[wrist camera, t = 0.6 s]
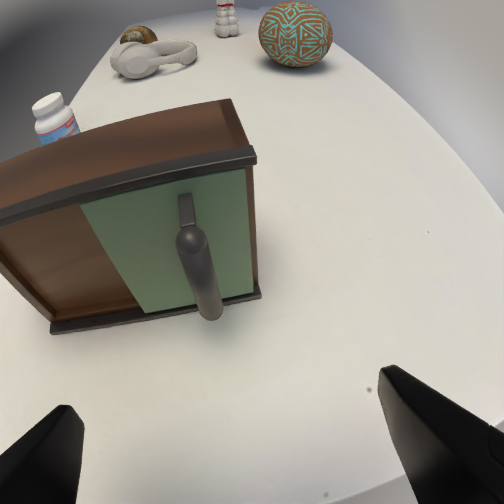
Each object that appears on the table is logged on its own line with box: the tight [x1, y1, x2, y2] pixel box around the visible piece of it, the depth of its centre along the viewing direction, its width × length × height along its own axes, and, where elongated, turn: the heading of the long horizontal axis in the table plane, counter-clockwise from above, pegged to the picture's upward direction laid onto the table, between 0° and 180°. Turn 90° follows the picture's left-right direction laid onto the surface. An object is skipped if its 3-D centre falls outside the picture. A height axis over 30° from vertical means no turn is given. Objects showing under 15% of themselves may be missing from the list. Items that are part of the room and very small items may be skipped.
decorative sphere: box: [259, 1, 333, 67], centre depth 54 cm, size 15×15×15 cm
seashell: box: [120, 26, 158, 45], centre depth 74 cm, size 11×9×8 cm
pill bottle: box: [32, 92, 81, 146], centre depth 37 cm, size 6×6×11 cm
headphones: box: [110, 40, 197, 79], centre depth 62 cm, size 18×8×20 cm
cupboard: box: [0, 99, 262, 335], centre depth 23 cm, size 8×20×14 cm, turn 102°
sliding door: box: [80, 167, 254, 321], centre depth 20 cm, size 4×9×13 cm, turn 102°
